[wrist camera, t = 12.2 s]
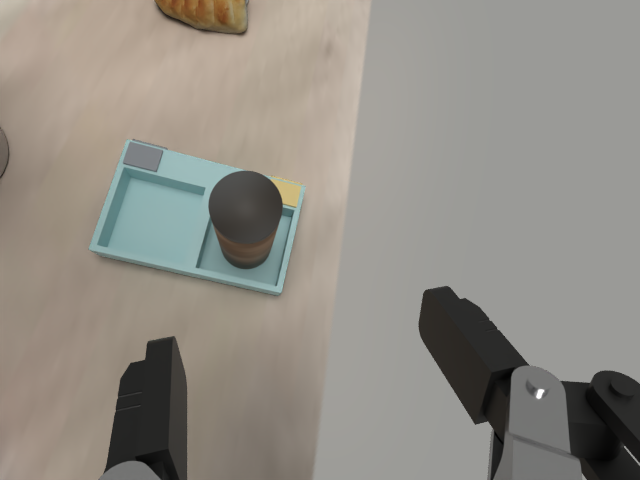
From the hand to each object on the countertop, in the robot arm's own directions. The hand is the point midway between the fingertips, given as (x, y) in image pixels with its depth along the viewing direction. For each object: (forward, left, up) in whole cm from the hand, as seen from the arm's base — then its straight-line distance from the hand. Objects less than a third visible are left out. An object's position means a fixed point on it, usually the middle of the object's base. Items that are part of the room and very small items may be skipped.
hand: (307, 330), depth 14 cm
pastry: (-26, +21, -26) cm, 43 cm away
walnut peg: (-6, +5, -25) cm, 26 cm away
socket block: (-10, +4, -26) cm, 28 cm away
